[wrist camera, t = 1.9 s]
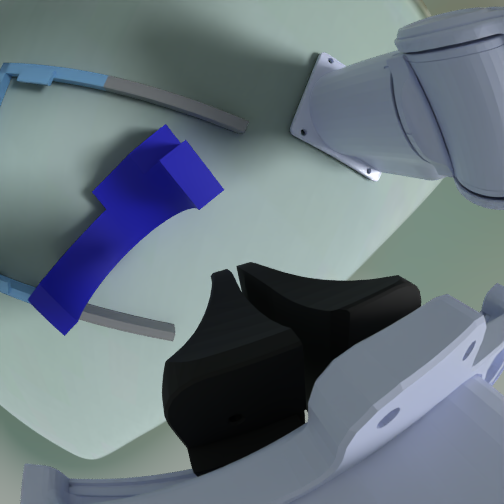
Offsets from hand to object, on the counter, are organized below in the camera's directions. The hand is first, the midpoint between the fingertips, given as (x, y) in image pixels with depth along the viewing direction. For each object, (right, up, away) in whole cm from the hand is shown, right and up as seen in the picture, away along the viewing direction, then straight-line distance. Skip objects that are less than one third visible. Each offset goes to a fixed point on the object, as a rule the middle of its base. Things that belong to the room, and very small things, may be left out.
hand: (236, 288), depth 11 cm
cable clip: (-8, +4, +5) cm, 11 cm away
